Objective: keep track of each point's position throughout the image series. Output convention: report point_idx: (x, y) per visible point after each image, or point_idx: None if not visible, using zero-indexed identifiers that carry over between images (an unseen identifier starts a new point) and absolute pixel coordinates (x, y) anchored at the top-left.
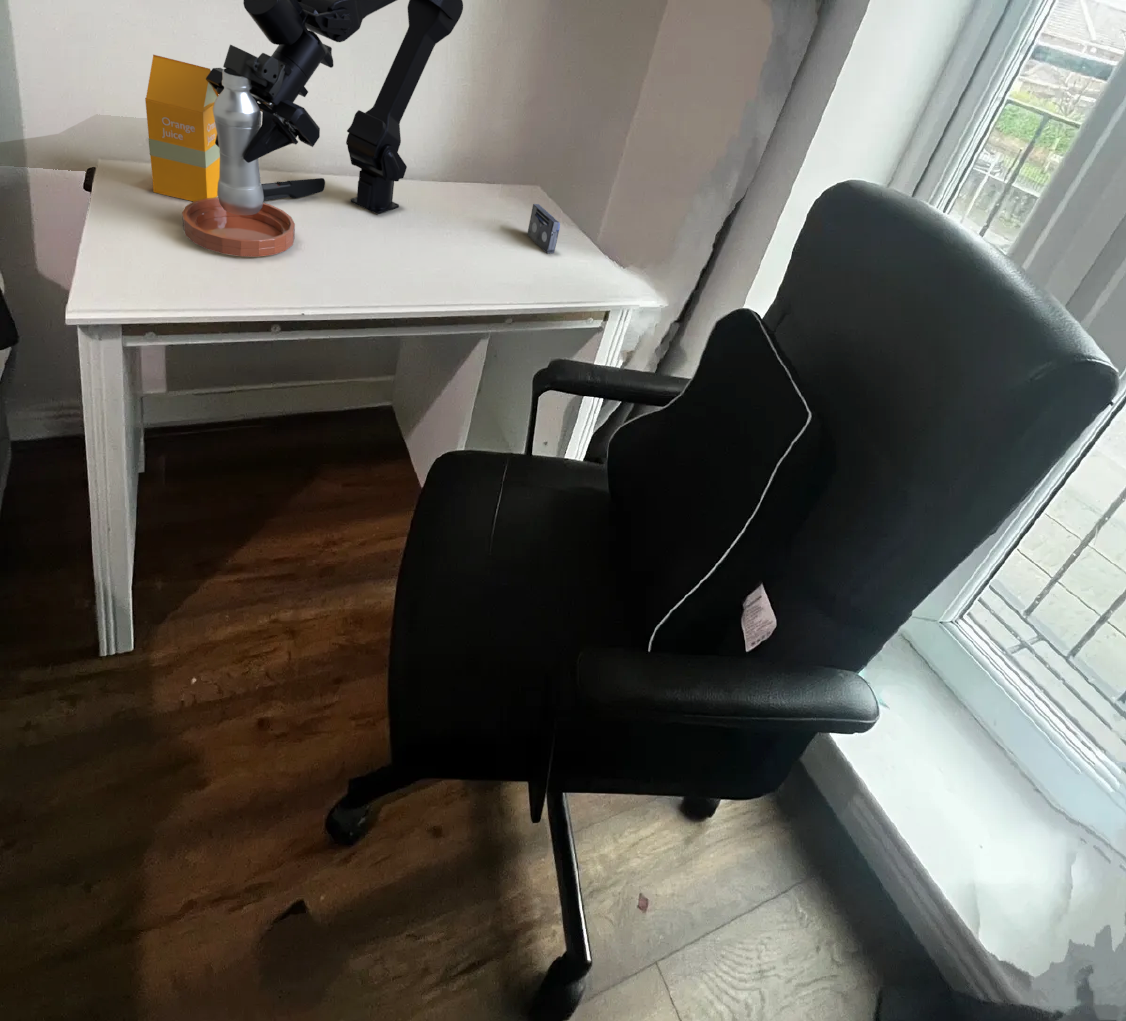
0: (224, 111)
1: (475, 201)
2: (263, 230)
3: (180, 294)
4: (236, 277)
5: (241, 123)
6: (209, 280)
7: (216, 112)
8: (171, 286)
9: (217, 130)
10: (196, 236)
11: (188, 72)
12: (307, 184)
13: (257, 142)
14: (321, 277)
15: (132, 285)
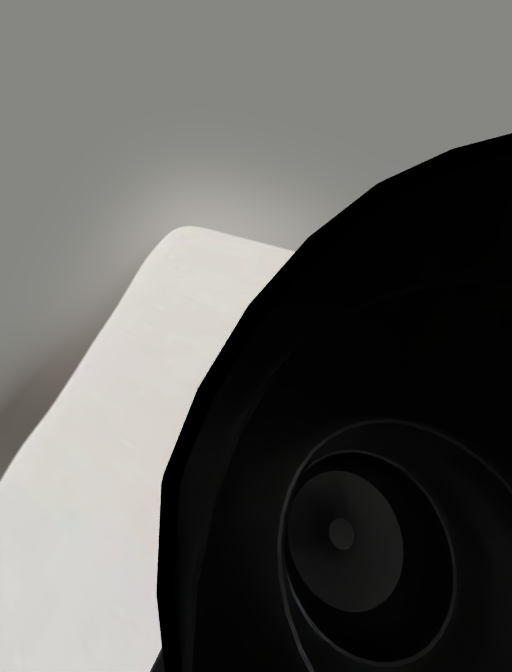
0: (360, 209)
1: None
2: None
3: (150, 312)
4: (155, 410)
5: (199, 475)
6: (167, 363)
7: (475, 213)
8: (175, 309)
9: (433, 358)
10: None
11: None
12: None
13: (159, 660)
14: (56, 616)
15: (199, 272)
